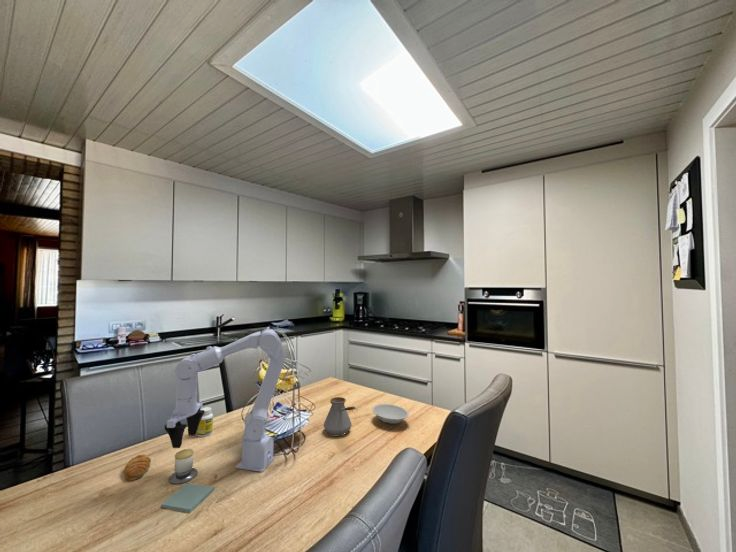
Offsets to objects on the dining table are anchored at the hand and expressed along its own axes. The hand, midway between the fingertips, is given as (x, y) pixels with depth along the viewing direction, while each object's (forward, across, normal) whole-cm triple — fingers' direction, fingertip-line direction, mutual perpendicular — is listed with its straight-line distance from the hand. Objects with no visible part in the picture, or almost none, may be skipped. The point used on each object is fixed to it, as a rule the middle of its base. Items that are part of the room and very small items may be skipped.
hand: (184, 441), depth 94 cm
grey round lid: (+10, +1, 0) cm, 10 cm away
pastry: (+11, -1, -15) cm, 19 cm away
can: (+8, +1, 0) cm, 8 cm away
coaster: (+10, +10, +8) cm, 16 cm away
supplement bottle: (+11, -26, -8) cm, 29 cm away
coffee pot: (+11, -27, +46) cm, 55 cm away
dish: (+11, -42, +66) cm, 79 cm away
